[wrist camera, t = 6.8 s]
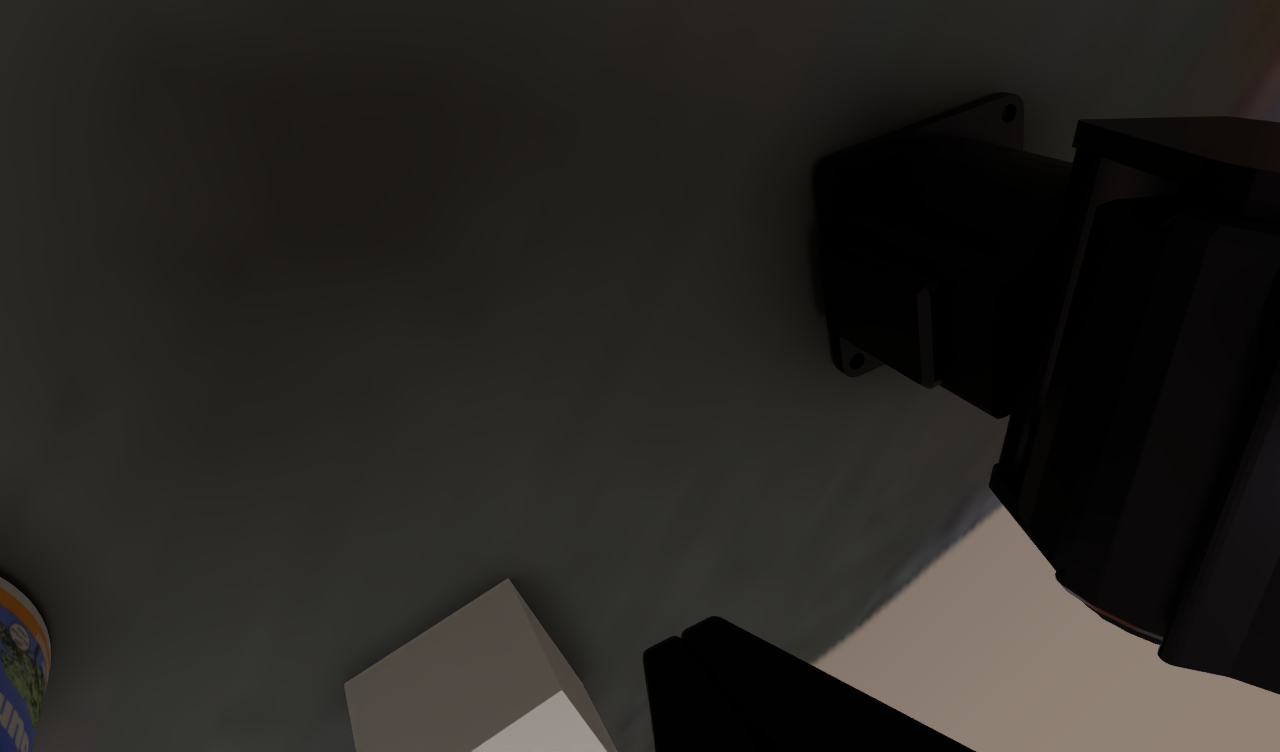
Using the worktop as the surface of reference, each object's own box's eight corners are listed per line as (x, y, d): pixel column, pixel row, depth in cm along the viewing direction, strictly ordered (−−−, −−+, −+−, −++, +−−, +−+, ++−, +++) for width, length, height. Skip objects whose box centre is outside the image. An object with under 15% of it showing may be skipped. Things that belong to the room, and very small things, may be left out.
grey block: (507, 575, 24) (561, 690, 20) (580, 679, 27) (640, 797, 23) (343, 680, 23) (368, 820, 19) (436, 777, 26) (473, 915, 22)
